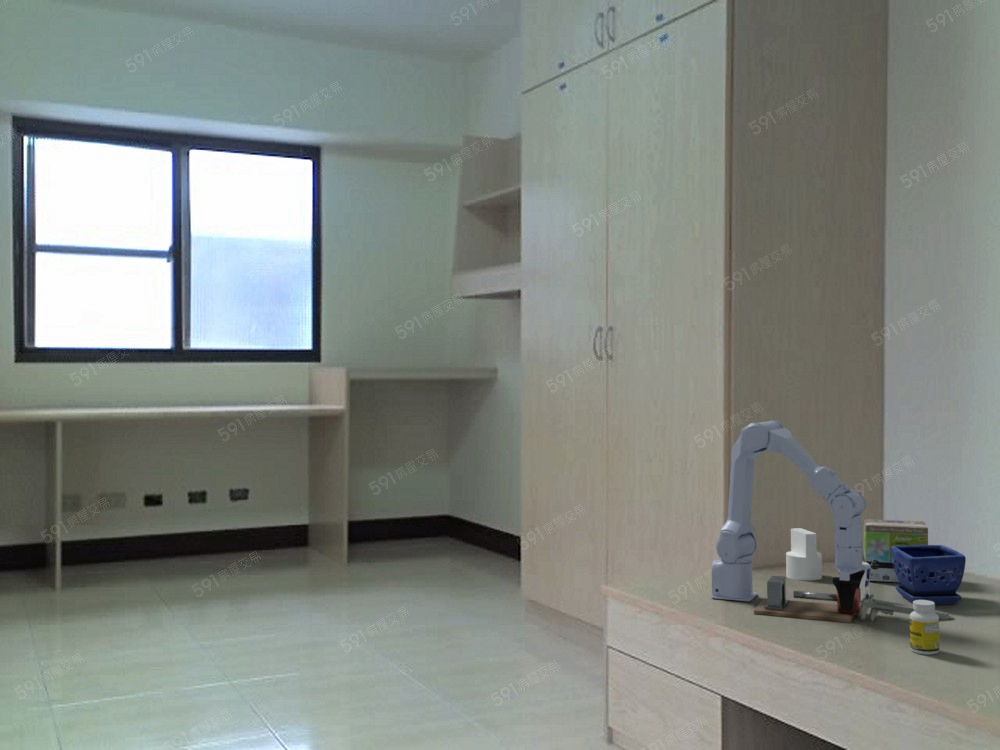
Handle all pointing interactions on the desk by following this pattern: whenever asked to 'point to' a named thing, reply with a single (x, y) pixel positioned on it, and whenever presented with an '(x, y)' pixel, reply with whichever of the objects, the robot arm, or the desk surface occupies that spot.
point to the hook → (832, 599)
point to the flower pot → (928, 572)
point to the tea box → (889, 544)
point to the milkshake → (865, 581)
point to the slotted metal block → (776, 593)
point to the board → (807, 611)
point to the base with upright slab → (803, 556)
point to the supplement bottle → (924, 628)
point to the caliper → (888, 608)
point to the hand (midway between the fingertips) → (849, 606)
